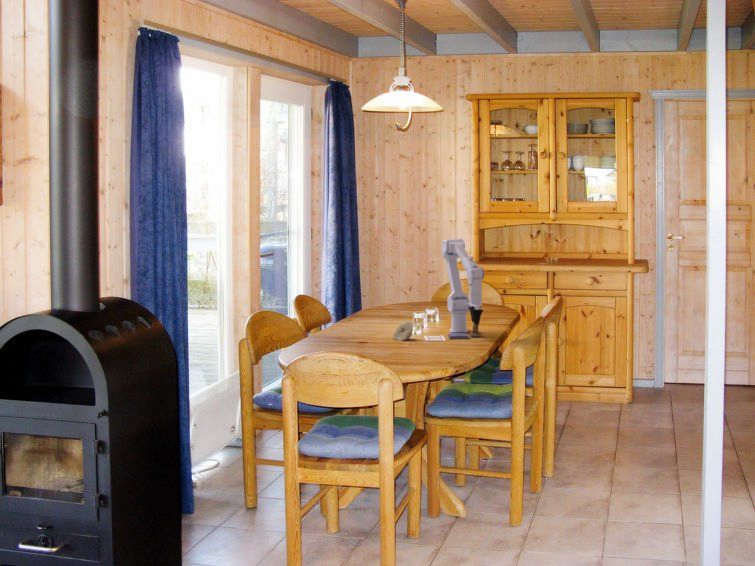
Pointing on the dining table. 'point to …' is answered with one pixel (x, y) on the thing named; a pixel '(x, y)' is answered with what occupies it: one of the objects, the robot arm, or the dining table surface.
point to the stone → (403, 331)
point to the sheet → (435, 338)
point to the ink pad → (458, 336)
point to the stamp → (475, 332)
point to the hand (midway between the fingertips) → (475, 323)
